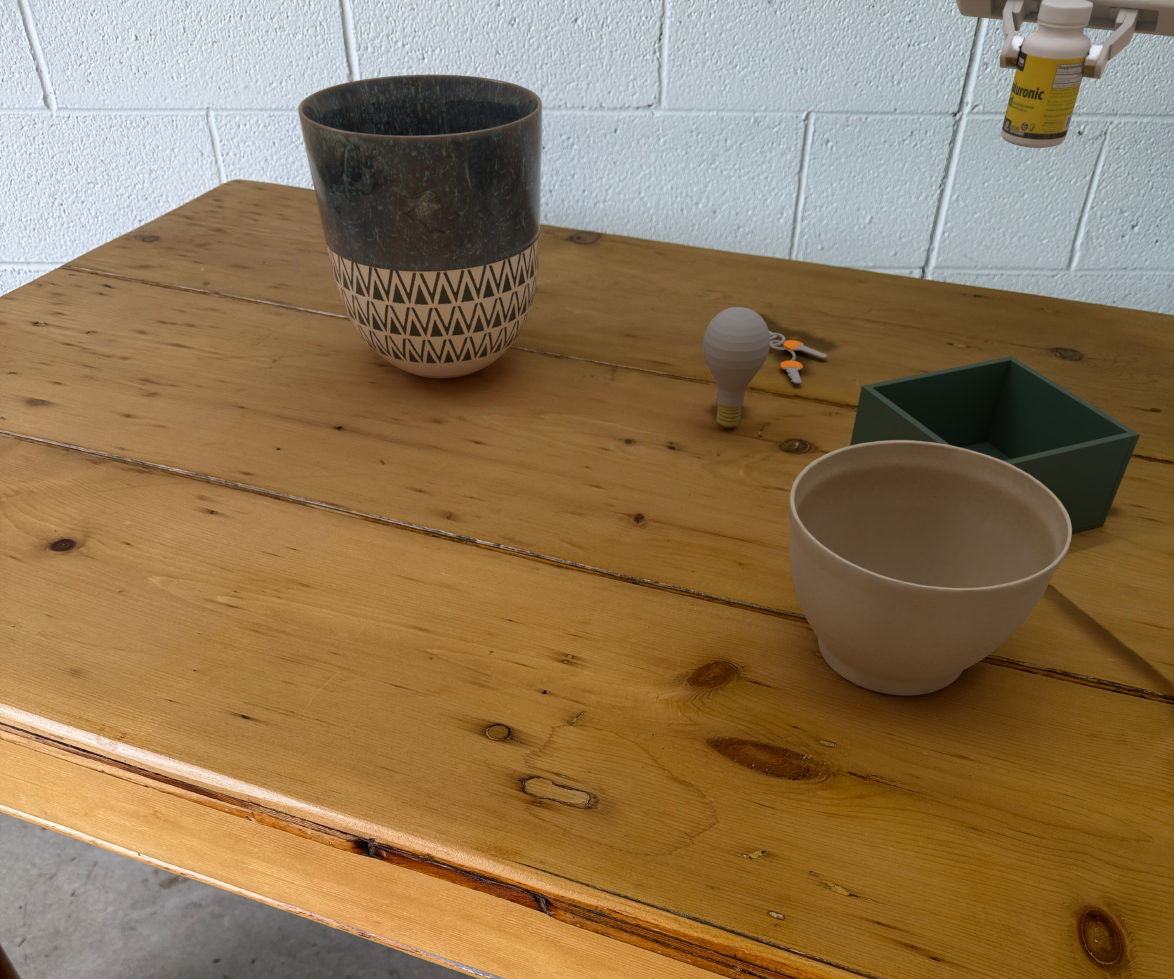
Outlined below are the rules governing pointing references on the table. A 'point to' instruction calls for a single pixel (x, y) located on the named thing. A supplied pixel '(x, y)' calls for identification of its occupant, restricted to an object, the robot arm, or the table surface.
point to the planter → (430, 213)
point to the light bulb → (734, 357)
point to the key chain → (791, 346)
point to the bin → (1008, 428)
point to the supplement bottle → (1048, 75)
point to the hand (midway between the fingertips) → (1049, 68)
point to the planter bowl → (919, 558)
